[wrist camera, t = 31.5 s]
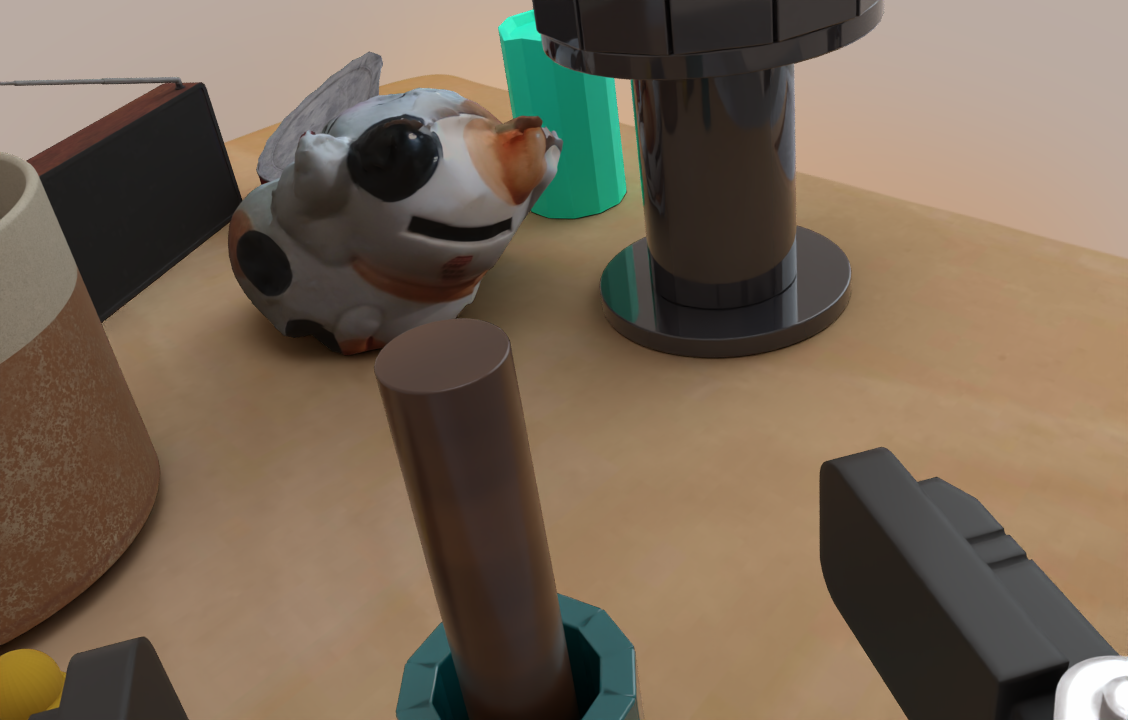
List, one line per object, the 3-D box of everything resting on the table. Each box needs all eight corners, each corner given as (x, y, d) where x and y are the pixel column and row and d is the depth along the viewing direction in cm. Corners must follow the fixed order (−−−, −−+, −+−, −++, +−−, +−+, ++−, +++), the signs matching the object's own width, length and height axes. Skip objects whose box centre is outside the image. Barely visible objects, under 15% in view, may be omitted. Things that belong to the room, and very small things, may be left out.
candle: (530, 181, 66) (499, -16, 60) (626, 171, 66) (604, -29, 59) (522, 223, 61) (487, 13, 55) (626, 213, 61) (602, -1, 54)
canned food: (410, 278, 68) (366, 180, 59) (263, 264, 70) (200, 167, 61) (451, 139, 73) (415, 30, 64) (313, 130, 75) (260, 23, 66)
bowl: (914, 246, 53) (936, -188, 43) (810, 400, 44) (806, -111, 33) (661, 211, 60) (627, -167, 50) (524, 337, 51) (446, -99, 40)
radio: (206, 208, 70) (126, -28, 62) (245, 209, 69) (168, -31, 61) (-3, 364, 56) (-143, 83, 47) (42, 368, 54) (-93, 82, 46)
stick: (626, 861, 27) (536, 330, 19) (578, 944, 26) (456, 405, 17) (547, 823, 29) (429, 308, 20) (497, 900, 27) (345, 376, 18)
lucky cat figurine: (459, 212, 64) (528, 6, 54) (539, 363, 57) (633, 159, 48) (201, 224, 56) (228, -14, 47) (260, 399, 50) (306, 166, 40)
